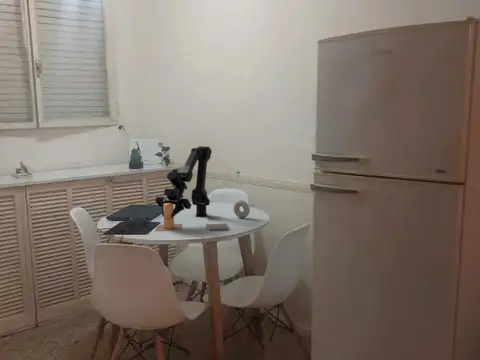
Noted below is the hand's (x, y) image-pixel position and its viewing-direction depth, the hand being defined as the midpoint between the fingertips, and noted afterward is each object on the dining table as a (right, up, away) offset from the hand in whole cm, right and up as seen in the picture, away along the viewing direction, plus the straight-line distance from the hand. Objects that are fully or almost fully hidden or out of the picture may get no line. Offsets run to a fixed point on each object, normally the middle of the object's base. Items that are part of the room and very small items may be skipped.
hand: (167, 216), depth 249 cm
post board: (+1, -7, +2) cm, 7 cm away
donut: (+37, -3, +26) cm, 46 cm away
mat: (+25, -6, +4) cm, 26 cm away
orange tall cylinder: (+1, -5, +2) cm, 6 cm away
